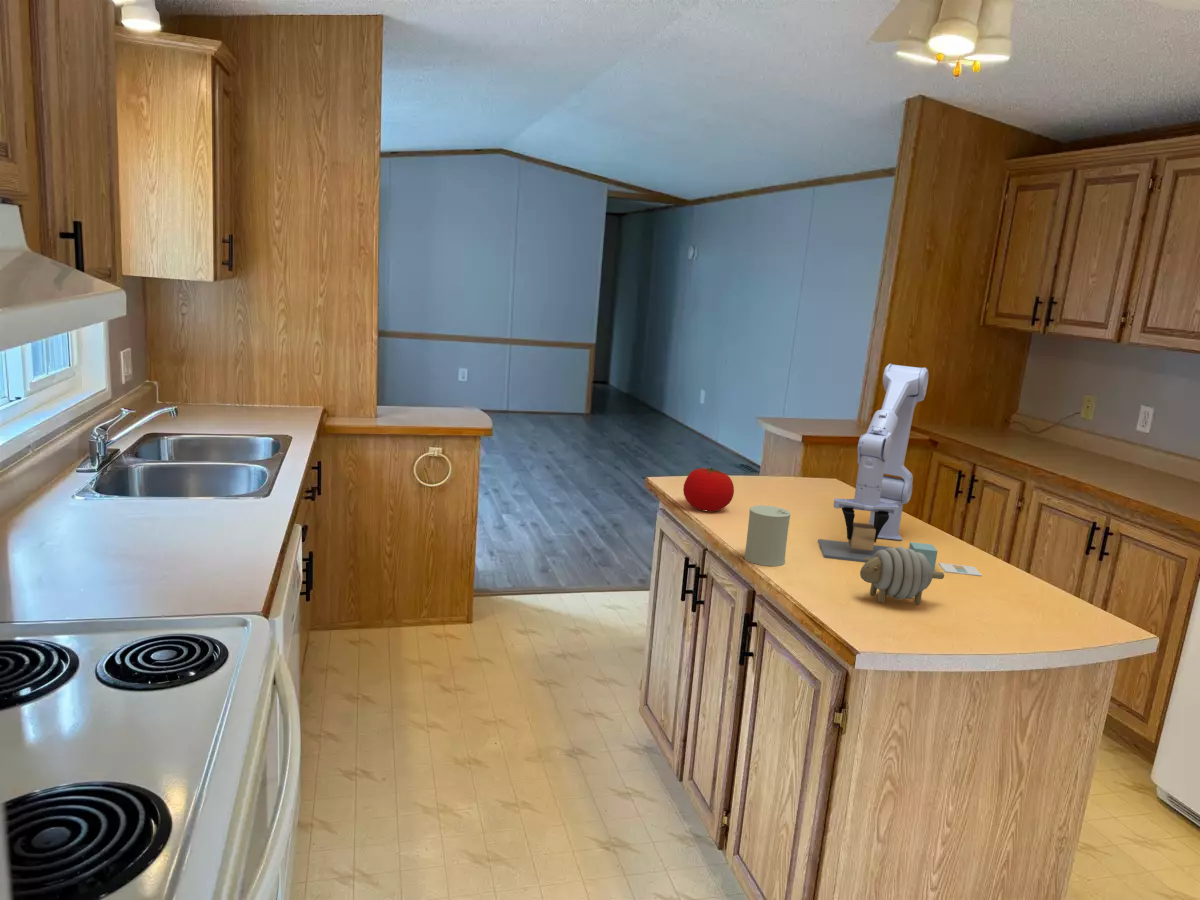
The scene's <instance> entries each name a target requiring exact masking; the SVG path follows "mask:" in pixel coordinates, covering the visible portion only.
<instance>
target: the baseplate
mask: <svg viewBox="0 0 1200 900" xmlns="http://www.w3.org/2000/svg"><path fill="white" fill-rule="evenodd" d="M817 542H818V545H819V548H820V550H821V553H822V556H823V558H825V559H832V560H833V559H835V560H843V561H850V562H851V561H852V562H860V563H866V562H867V561H866V558H870V559H872V558H873V556H874V554H875V553H876V552H877V551H878V550H885V549H887V548H894V546H893V547H892V546H885V545H878V544H877V545H876V544H874V547H873V551H872V550H863V549H854V548H851V547H850V545H849V543H848V541H841V540H833V539H832V540H829V539H822V538H818V540H817Z"/></svg>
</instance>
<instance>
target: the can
mask: <svg viewBox="0 0 1200 900" xmlns="http://www.w3.org/2000/svg"><path fill="white" fill-rule="evenodd" d="M748 515H749V516H748V522H747V523H748V524H747V525H748V526H747V534H746V542H745V543H746V544H745V550H744V555H743V558H744V560H746V561H747V562H749V563H752V564H754V565H759V566H765V567H780V566H783V565H784V564H785V563H786V551H787V549H786V548H787V541H788V535H789V527H790V519H791V511H789V510H787V509H785V508H783V507H779V506H774V505H762V504H760V505H752V506H750V507H749V513H748Z"/></svg>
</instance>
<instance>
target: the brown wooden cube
mask: <svg viewBox="0 0 1200 900" xmlns="http://www.w3.org/2000/svg"><path fill="white" fill-rule="evenodd" d="M875 534H876V530H875V528H874V526H873V525H872V524H869V523H862V522H855V521H853V527H852V538H851V540H848V539H847V542H848V543H849V545H850V547H851V548H854V549H863V550H872V551H873V547H874V545H875V542H874V540H875Z"/></svg>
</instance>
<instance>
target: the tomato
mask: <svg viewBox="0 0 1200 900" xmlns="http://www.w3.org/2000/svg"><path fill="white" fill-rule="evenodd" d="M682 488H683V490H682V491H683V495H684V499H685V500H686V502H687V503H688V504H689V505H690V506H691V507H693V508H695V509H696V508H697V510H699V509H700V510H699V511H702V510H707V511H713V512H717V510H718V511H720V510H722V509H724V508H725V507H727V506H728V505H729V504H730V503H731V502H732V501H733V498H734V493H735V486H734V483H733V480H732V479H731V477H730V476H729V475H727V473H726V472H723V470H718V469H715V468H713V467H703V468H702V467H700V468H697V469H693V470H692V471H691V472H689V474H688V475H687V477H686V479H685V481H684V484H683V487H682ZM707 511H706V512H707Z"/></svg>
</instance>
